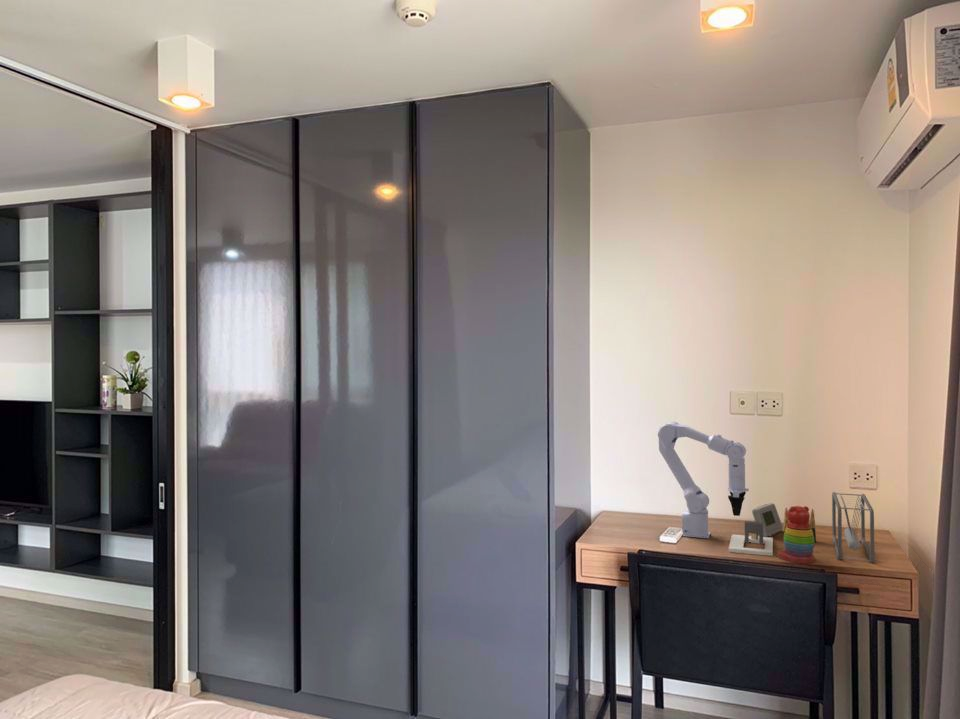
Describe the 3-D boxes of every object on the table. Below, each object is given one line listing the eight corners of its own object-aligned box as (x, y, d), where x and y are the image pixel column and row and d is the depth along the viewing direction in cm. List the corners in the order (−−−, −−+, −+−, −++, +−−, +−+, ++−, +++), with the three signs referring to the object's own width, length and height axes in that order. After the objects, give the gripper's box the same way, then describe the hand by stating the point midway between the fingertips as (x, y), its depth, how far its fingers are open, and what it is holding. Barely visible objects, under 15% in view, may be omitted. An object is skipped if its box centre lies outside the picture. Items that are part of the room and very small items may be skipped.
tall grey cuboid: (744, 542, 245) (744, 522, 245) (745, 540, 247) (744, 521, 247) (763, 544, 242) (762, 524, 242) (763, 542, 244) (763, 522, 244)
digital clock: (763, 539, 256) (763, 510, 256) (743, 534, 263) (742, 506, 263) (790, 533, 264) (790, 505, 264) (769, 528, 272) (769, 501, 272)
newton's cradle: (832, 538, 256) (831, 490, 256) (864, 541, 252) (864, 492, 251) (838, 561, 228) (837, 507, 228) (874, 564, 224) (874, 510, 224)
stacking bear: (808, 554, 236) (807, 502, 236) (822, 563, 226) (821, 509, 225) (776, 555, 236) (775, 502, 236) (788, 564, 226) (788, 509, 226)
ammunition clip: (784, 540, 254) (783, 507, 254) (783, 539, 256) (783, 506, 256) (816, 542, 251) (815, 509, 251) (815, 541, 253) (814, 508, 253)
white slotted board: (728, 551, 240) (728, 534, 240) (732, 537, 259) (731, 521, 259) (772, 556, 235) (772, 537, 235) (772, 541, 253) (772, 524, 253)
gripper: (747, 480, 247) (748, 518, 247) (749, 473, 260) (749, 509, 260) (726, 479, 250) (727, 516, 250) (729, 472, 263) (729, 508, 263)
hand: (737, 513), depth 255 cm, fingers open, 7 cm apart
